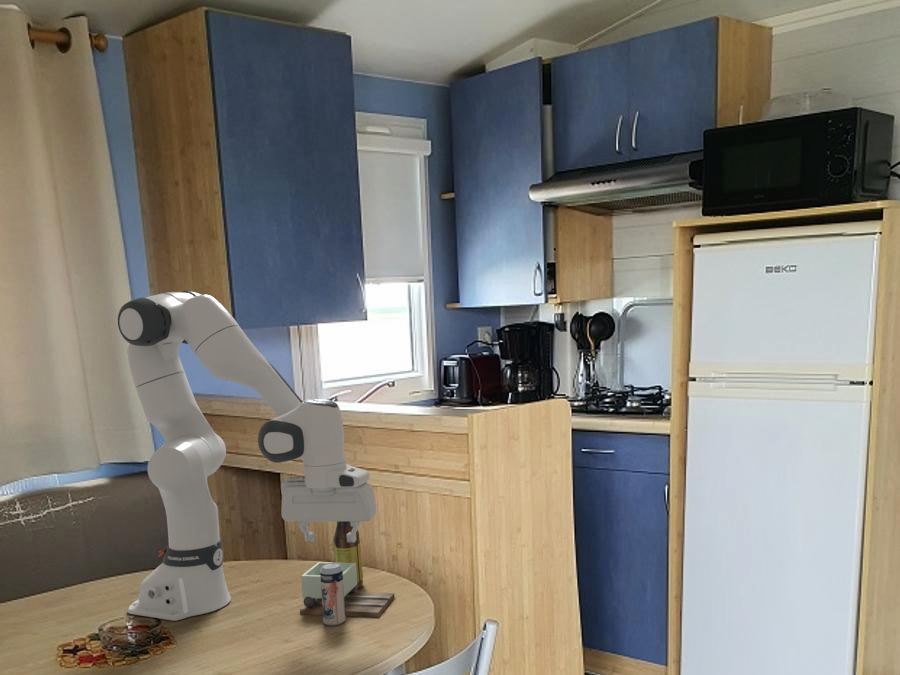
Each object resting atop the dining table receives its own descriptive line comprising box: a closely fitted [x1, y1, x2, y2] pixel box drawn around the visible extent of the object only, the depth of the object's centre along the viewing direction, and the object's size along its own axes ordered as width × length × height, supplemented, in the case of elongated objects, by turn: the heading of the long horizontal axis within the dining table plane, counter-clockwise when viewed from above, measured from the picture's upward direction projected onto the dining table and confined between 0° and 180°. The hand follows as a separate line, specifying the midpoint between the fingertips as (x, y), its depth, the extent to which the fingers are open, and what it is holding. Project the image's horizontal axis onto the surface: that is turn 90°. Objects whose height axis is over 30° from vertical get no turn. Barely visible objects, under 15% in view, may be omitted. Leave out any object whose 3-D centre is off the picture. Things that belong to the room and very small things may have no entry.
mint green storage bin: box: [300, 561, 358, 608], centre depth 165 cm, size 9×9×7 cm
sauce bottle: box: [333, 521, 364, 589], centre depth 175 cm, size 7×6×20 cm
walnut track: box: [299, 591, 395, 618], centre depth 164 cm, size 18×11×1 cm, turn 76°
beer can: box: [320, 563, 347, 627], centre depth 155 cm, size 5×5×12 cm
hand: (330, 541), depth 155 cm, fingers open, 8 cm apart
